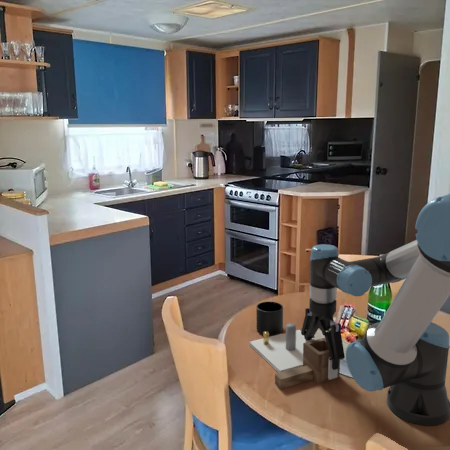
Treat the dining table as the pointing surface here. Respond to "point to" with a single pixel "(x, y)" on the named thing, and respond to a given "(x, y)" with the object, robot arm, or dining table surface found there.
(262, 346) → the post board
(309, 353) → the brown wooden bracket
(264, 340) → the dowel pin
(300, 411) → the dining table surface
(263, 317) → the mug
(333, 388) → the dining table surface
